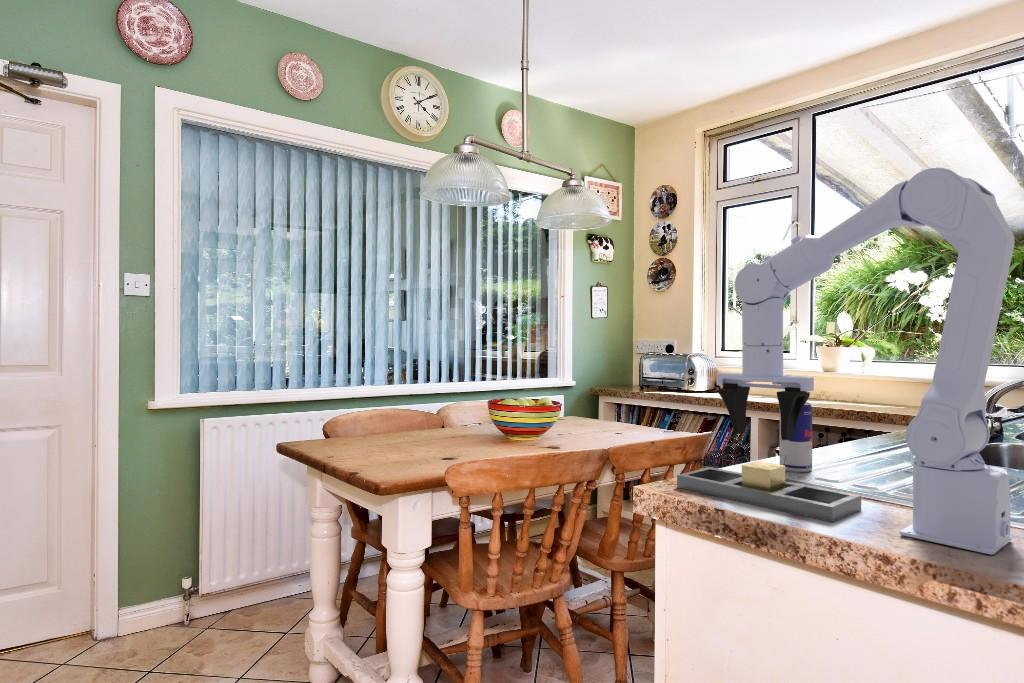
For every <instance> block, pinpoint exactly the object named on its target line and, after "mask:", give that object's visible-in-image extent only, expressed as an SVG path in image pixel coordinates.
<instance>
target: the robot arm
mask: <svg viewBox="0 0 1024 683" xmlns="http://www.w3.org/2000/svg"><path fill="white" fill-rule="evenodd" d="M925 226H927V227H929V228H931V229H933V230H934V231H937V232H938V233H939V235H941V236H942V238H943V239H944V240H946V242H948V243H949V244H950V245H951V247H953V248H954V249H955V250H956V251H957V254H958V255H957V258H956V263H955V268H954V274H953V277H952V278H953V279H952V284H951V288H950V293H949V296H948V297H949V298H948V303H947V308H946V313H945V318H944V323H943V327H942V332H941V333H942V334H941V337H940V343H939V346H938V347H939V349H938V352H937V358H936V363H935V368H934V372H933V376H932V382H931V383H930V385H929V387H928V389H927V390H926V392H925V394H924V396H923V398H922V399H921V402H920V406H919V410H918V412H917V414H916V415H915V417H913V418H912V419H911V420H910V422H909V423H908V425H907V427H906V431H905V441H906V445H907V447H908V448H909V450H910V452H911V453H912V454H913V456H912V460H913V462H912V524H910V525H908V526H906V527H904V528H902V529H900V531H899V534H900V535H901V536H904V537H909V538H913V539H917V540H923V541H927V542H932V543H936V544H941V545H946V546H950V547H955V548H959V549H964V550H969V551H972V552H977V553H980V554H981V553H982V554H985V555H986V554H988V555H995V554H996V553H997V552H999V551H1000V550H1001V549H1003V547H1005V546H1006V545H1007V544H1009V543H1010V542H1011V541H1012V540H1013V539H1012V536H1011V484H1010V483H1011V482H1010V479H1009V476H1008V474H1006V473H1005V472H1002V471H997V470H991V469H989V468H986V463H985V462H986V461H985V460H984V459H983V457H982V454H980V452H981V451H983V450H984V449H985V448H986V446H987V445H988V443H989V441H990V437H991V433H990V430H991V429H990V426H989V424H988V421H987V419H986V418H987V417H986V412H987V411H986V410H987V406H988V400H987V397H986V395H985V394H986V393H985V390H984V387H985V383H986V378H987V374H988V370H989V365H990V360H991V356H992V350H993V347H994V346H993V345H994V341H995V337H996V332H997V328H998V327H997V326H998V324H999V323H998V322H999V318H1000V313H1001V310H1002V309H1001V308H1002V305H1003V299H1004V295H1005V290H1006V285H1007V282H1008V281H1007V280H1008V276H1009V272H1010V266H1011V264H1012V263H1011V262H1012V257H1013V253H1014V248H1015V242H1016V241H1015V239H1016V238H1015V235H1014V233H1013V232H1012V230H1011V227H1010V225H1009V224H1008V222H1007V220H1006V218H1005V216H1004V215H1003V213H1002V211H1001V209H1000V207H999V205H998V203H997V200H996V196H995V194H994V193H992V192H991V191H990V190H989V189H987V188H986V187H984V186H983V185H982V184H981V183H979V182H978V181H975V179H972V178H969V177H964V176H962V175H959V174H958V173H956V172H955V171H953V170H951V169H949V168H946V167H939V166H938V167H937V166H936V167H929V168H926V169H923V170H921V171H919V172H917V173H916V174H914V175H913V176H912V177H911V178H909V180H907V179H906V180H903V181H901V182H898V183H896V184H895V185H894V186H892V187H891V188H890V189H889V190H888V191H886V192H885V193H884V194H883V195H882V196H880V197H879V198H877V199H876V200H874V201H872V202H871V203H870V204H868V205H866V206H865V207H863V208H862V209H860V210H859V211H857V212H856V213H855V214H853V215H851V216H850V217H849V218H846V219H845V220H844V221H842V222H841V223H840V224H838V225H836V226H835V227H834V228H832V229H830V230H828V231H827V232H826V233H825V234H822V235H821V236H816V235H812V234H807V235H805V236H802V235H797V236H796V237H794V238H792V239H791V241H790V242H791V244H790V245H788V246H787V247H786V248H784V249H782V250H781V251H779V252H777V253H776V254H773V255H771V254H768V255H767V256H765V257H764V258H763V262H762V263H755V262H754V263H747V264H746V265H745V266H744V267H743V268H741V269H740V270H739V271H738V273H737V274H736V277H735V280H734V291H735V293H736V295H737V297H738V298H739V299H740V300H741V306H742V307H741V308H742V309H741V311H742V312H741V320H742V322H741V323H742V324H741V325H742V326H741V331H742V332H741V334H742V335H741V336H742V337H741V339H742V340H741V341H742V342H741V345H742V347H741V348H742V349H741V350H742V353H741V355H742V360H741V361H742V363H741V365H742V366H741V367H742V372H723V371H722V372H716V386H722V388H718V394H719V397H721V400H722V401H723V403H724V405H725V407H726V410H727V412H728V414H729V418H730V421H731V426H732V429H733V433H734V434H737V435H740V434H744V433H746V428H747V407H748V406H747V405H748V399H749V393H750V390H751V388H761V389H775V390H776V389H777V390H781V391H776V397H777V400H778V405H779V415H780V414H781V438H782V440H790V439H793V436H794V431H795V427H796V424H797V421H798V418H799V415H800V413H801V411H802V409H803V407H804V405H805V403H806V402H808V400H809V398H810V395H811V393H810V392H812V391H815V384H814V382H815V378H814V377H813V376H802V375H790V374H784V304H785V301H786V299H788V296H789V295H790V293H791V292H792V291H793V290H796V289H797V288H799V287H801V286H803V285H805V284H807V283H808V282H811V281H812V280H814V279H815V278H818V277H819V276H821V275H823V274H825V273H826V272H828V271H830V270H831V268H832V267H833V264H834V261H835V258H836V257H837V256H839V255H841V254H842V253H844V252H847V251H849V250H851V249H852V248H854V247H857V246H858V245H861V244H862V243H865V242H866V241H868V240H870V239H873V238H874V237H876V236H878V235H881V234H882V233H884V232H887V231H888V230H890V229H892V228H898V227H899V228H901V227H903V228H904V227H905V228H906V227H909V228H911V227H925ZM754 382H755V383H754ZM765 383H772V384H765Z"/></svg>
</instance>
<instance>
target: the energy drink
mask: <svg viewBox="0 0 1024 683" xmlns="http://www.w3.org/2000/svg"><path fill="white" fill-rule="evenodd" d="M779 465H785V472H789V473H798V472H804V473H810V472H811V471H812V470H813V407H812V403H810V402H808V401H806V403H805V405H804V407H803V409H802V411H801V413H800V415H799V418H798V421H797V424H796V427H795V431H794V436H793V439H790V440H782V438H781V414H780V413H779ZM809 471H810V472H809Z"/></svg>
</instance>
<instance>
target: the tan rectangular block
mask: <svg viewBox="0 0 1024 683" xmlns="http://www.w3.org/2000/svg"><path fill="white" fill-rule="evenodd" d="M741 473H742V486H743V487H748V488H753V489H758V490H763V491H768V492H775V491H778V490H781V489H784V488H785V481H786V471H785V465H780V463H778V464H777V463H773V462H765V461H759V460H754V461H752V462H748V463H745V464H742V465H741Z"/></svg>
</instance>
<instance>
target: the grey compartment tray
mask: <svg viewBox="0 0 1024 683" xmlns="http://www.w3.org/2000/svg"><path fill="white" fill-rule="evenodd" d="M676 488H677V489H682V490H687V491H690V492H696V493H700V494H705V495H710V496H714V497H718V498H723V499H726V500H732V501H736V502H741V503H745V504H748V503H749V505H753V506H758V507H763V508H767V509H772V510H775V511H780V512H786V513H789V514H793V513H794V515H799V516H803V517H807V518H812V519H816V520H820V521H823V522H824V521H826V522H829V523H834V522H836V521H838V520H841V519H843V518H846V517H848V516H850V515H853V514H854V513H856V512H859V511H861V510H862V495H861V494H857V493H856V494H855V493H849V492H846V491H840V490H839V491H838V490H834V489H830V488H829V489H828V488H824V487H818V486H813V485H807V484H802V483H797V482H792V481H786V480H785V488H784V489H781V490H778V491H775V492H768V491H763V490H758V489H753V488H748V487H743V486H742V472H737V471H732V470H727V469H722V468H717V467H710V466H707V467H704V468H699V469H696V470H692V471H691V470H690V471H688V472H684V473H680V474H676Z"/></svg>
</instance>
